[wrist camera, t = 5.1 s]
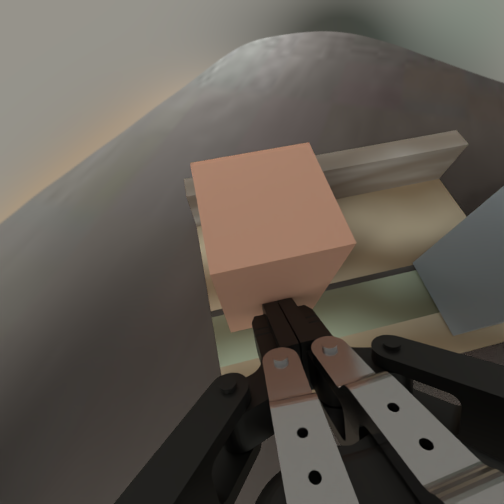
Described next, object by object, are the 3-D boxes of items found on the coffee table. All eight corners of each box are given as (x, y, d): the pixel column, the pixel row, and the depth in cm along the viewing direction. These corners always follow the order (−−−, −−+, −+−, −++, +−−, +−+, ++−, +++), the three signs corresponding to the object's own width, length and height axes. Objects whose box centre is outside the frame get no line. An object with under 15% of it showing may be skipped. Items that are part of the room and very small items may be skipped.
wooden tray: (539, 331, 17) (614, 314, 14) (229, 415, 15) (221, 421, 12) (425, 170, 24) (456, 130, 20) (195, 215, 22) (183, 179, 18)
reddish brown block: (309, 314, 17) (356, 243, 9) (230, 332, 17) (210, 274, 9) (286, 245, 20) (308, 142, 12) (216, 260, 19) (190, 163, 11)
